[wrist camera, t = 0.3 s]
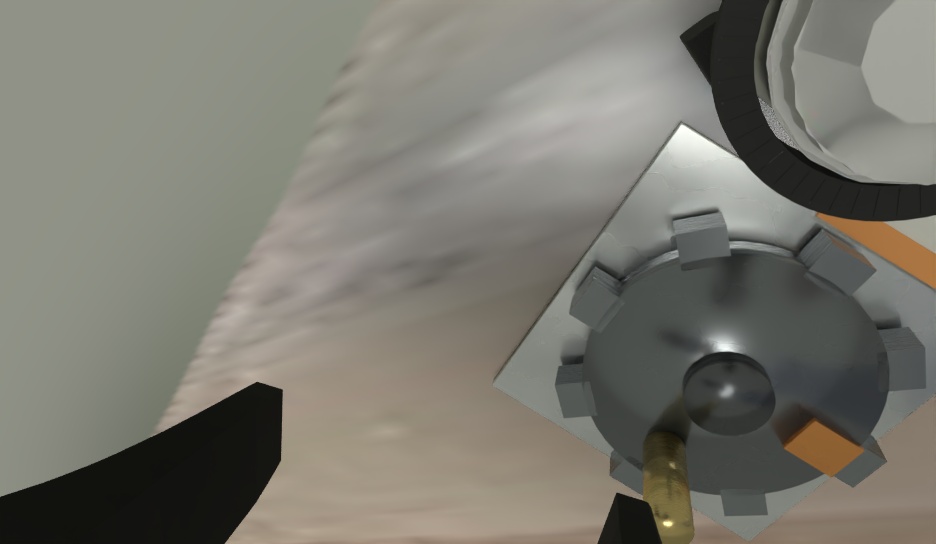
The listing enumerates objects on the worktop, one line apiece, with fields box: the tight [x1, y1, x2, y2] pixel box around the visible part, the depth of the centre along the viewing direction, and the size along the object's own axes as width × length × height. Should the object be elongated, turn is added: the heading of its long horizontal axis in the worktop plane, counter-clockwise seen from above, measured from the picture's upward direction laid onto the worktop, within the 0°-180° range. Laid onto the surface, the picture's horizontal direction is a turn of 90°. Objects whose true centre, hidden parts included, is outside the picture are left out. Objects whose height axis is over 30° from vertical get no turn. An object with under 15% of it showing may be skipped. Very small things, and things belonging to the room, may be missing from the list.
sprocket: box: [555, 212, 926, 544], centre depth 18 cm, size 11×11×5 cm
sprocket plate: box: [492, 122, 936, 541], centre depth 21 cm, size 12×12×1 cm
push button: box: [680, 0, 936, 222], centre depth 12 cm, size 7×5×10 cm
